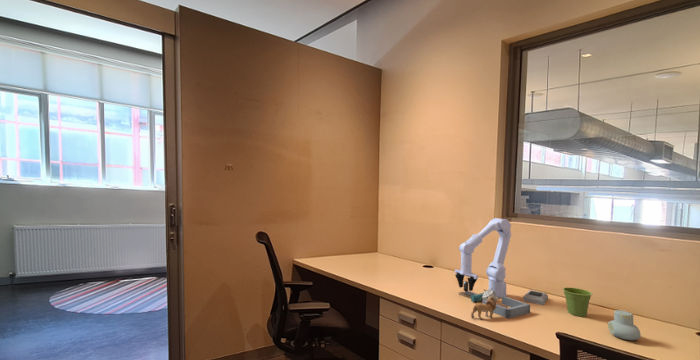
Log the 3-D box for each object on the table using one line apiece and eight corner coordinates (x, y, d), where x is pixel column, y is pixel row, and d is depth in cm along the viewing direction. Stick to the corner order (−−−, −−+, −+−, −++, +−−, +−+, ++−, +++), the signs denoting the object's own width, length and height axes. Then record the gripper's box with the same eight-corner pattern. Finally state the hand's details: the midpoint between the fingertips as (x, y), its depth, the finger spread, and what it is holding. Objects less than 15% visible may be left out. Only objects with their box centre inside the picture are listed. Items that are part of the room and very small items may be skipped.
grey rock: (493, 313, 159) (503, 301, 154) (477, 305, 161) (486, 293, 155) (493, 300, 166) (502, 288, 161) (477, 293, 168) (486, 281, 163)
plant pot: (557, 311, 154) (557, 288, 155) (572, 308, 159) (572, 286, 159) (582, 320, 143) (582, 295, 144) (598, 317, 148) (597, 293, 149)
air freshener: (642, 345, 120) (642, 319, 120) (615, 340, 123) (615, 315, 124) (631, 334, 130) (631, 310, 130) (606, 330, 133) (606, 306, 134)
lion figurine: (489, 313, 148) (490, 294, 149) (499, 317, 144) (499, 297, 144) (467, 317, 142) (467, 297, 143) (476, 322, 137) (477, 301, 138)
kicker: (470, 293, 178) (470, 280, 178) (487, 299, 168) (487, 285, 169) (457, 295, 173) (457, 282, 173) (473, 301, 163) (473, 287, 163)
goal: (503, 303, 163) (503, 296, 163) (530, 312, 151) (530, 304, 151) (482, 308, 155) (482, 300, 155) (508, 318, 143) (508, 309, 143)
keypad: (523, 294, 169) (528, 289, 181) (523, 301, 169) (528, 295, 180) (543, 298, 163) (547, 292, 174) (543, 306, 163) (547, 299, 174)
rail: (462, 293, 178) (462, 291, 178) (477, 299, 169) (477, 296, 169) (458, 294, 177) (459, 292, 177) (473, 299, 168) (473, 297, 168)
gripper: (451, 262, 180) (450, 286, 179) (471, 267, 167) (471, 293, 166) (459, 261, 183) (459, 284, 182) (480, 266, 170) (480, 291, 170)
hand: (465, 288), depth 174 cm, fingers open, 6 cm apart
